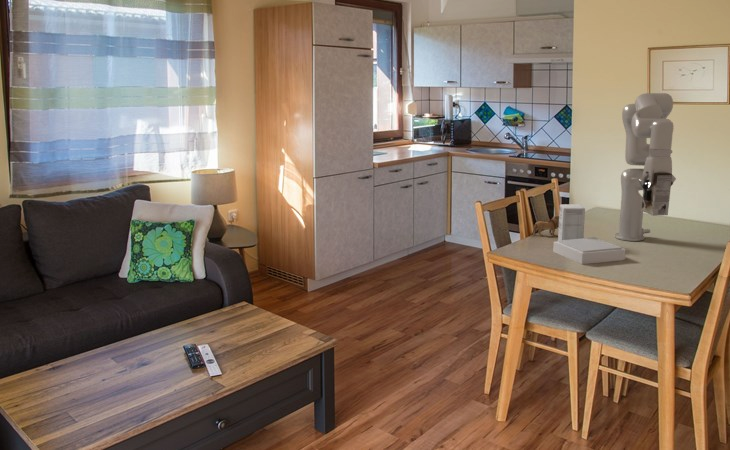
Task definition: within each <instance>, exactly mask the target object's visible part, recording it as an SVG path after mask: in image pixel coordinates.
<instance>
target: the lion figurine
mask: <svg viewBox="0 0 730 450" xmlns="http://www.w3.org/2000/svg"><path fill="white" fill-rule="evenodd" d="M557 229H559V215H554V216H553V217H552V218H551V219H550V220H549V221H542V220H541V221H539V220H538V221H537V222H535V224H534V225H533V228H532V233H530V236H533V235H534V236H535V235H536V233H535V232H537V231H538V232H537V233H538V236H540V237H543V234H542V233H541V232H542V230H545V231H546V230H548V234H549V235H550V236H551V235H552V236H553V237H556V234H555V232H556V230H557Z"/></svg>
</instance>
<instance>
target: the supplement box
mask: <svg viewBox="0 0 730 450" xmlns="http://www.w3.org/2000/svg"><path fill="white" fill-rule="evenodd" d="M558 213H559V214H558V216H559V227H558V234H557V235H558V237H557V241H559V240H570V239H581V238H585V237H584V232H585V220H586V218H585V216H586V215H585V214H586V208H585V206H583V205H582V204H578V203H577V204H572V203H571V204H569V203H568V204H566V203H565V204H559V212H558Z"/></svg>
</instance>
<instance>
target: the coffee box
mask: <svg viewBox="0 0 730 450" xmlns="http://www.w3.org/2000/svg"><path fill="white" fill-rule="evenodd" d="M672 175H673V173H672V174H671V173H654V180H653V184H652V187H651V189H650V191H651V201H646V200H644V190H642V197H643V199H642V211H643V213H646V214H648V215H651V216H654V217H655V216H668V214H669V207H670V199H671V187H672V186H671V180H672ZM646 181H647V180H646ZM648 186H649V185H648Z"/></svg>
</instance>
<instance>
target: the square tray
mask: <svg viewBox="0 0 730 450" xmlns="http://www.w3.org/2000/svg"><path fill="white" fill-rule="evenodd" d="M552 248H553V249H552V250H553V251H552V253H555V254H557V255H559V256H562V257H563V258H566V259H568V260H571V261H573V262H576V263H577V264H581V265H587V264H597V263H606V262H618V261H625V260H626V248H623V247H622V246H619V245H616V244H614V243H611V242H608V241H606V240H602V239H601V238H600V239H599V238H597V237H594V236H593V237H584V238H581V239H570V240H559V241H558V240H556V241H553V247H552Z"/></svg>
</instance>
